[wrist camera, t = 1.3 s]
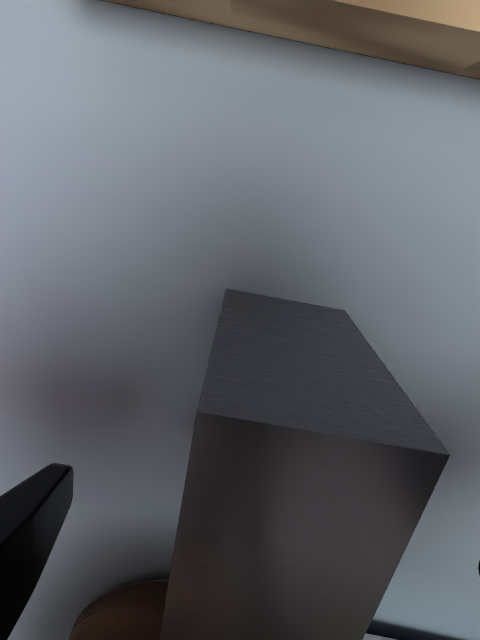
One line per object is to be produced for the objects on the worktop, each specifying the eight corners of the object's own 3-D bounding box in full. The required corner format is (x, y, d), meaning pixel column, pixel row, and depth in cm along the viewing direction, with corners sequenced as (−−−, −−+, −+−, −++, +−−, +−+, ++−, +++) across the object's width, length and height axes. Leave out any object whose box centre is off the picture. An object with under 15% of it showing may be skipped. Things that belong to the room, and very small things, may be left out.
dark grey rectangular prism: (344, 310, 12) (450, 455, 6) (302, 453, 14) (344, 679, 8) (226, 288, 12) (196, 411, 6) (200, 436, 14) (157, 651, 8)
